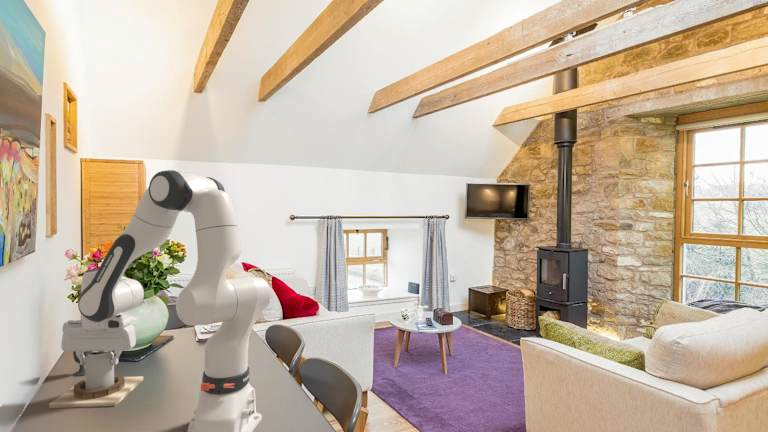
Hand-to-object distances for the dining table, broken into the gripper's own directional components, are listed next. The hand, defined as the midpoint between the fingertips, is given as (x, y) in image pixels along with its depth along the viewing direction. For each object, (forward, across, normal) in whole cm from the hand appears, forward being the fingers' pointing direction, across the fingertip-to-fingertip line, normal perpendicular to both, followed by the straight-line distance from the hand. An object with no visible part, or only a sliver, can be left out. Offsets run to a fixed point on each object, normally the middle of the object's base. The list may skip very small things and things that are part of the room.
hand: (99, 364), depth 134 cm
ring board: (+9, 0, 0) cm, 9 cm away
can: (+8, 0, 0) cm, 8 cm away
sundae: (+9, -14, +16) cm, 23 cm away
